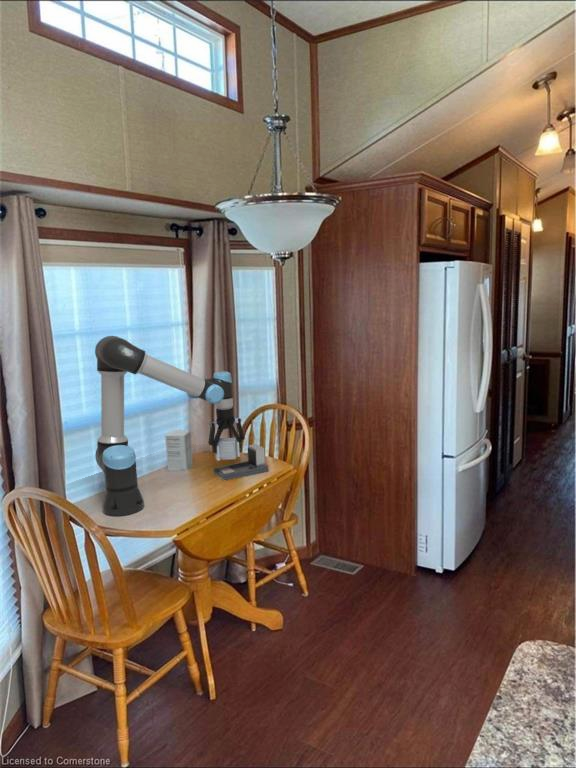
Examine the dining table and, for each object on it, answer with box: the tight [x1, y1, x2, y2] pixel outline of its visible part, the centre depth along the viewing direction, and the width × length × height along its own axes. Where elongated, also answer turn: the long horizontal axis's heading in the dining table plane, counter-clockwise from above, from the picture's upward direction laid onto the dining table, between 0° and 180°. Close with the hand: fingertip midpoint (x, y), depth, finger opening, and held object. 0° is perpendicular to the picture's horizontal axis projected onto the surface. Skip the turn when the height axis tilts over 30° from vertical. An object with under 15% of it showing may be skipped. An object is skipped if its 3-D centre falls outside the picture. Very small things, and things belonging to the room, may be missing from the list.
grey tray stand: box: [213, 443, 269, 481], centre depth 251 cm, size 21×12×10 cm, turn 119°
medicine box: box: [217, 437, 238, 461], centre depth 247 cm, size 8×4×9 cm, turn 84°
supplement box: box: [164, 429, 194, 472], centre depth 261 cm, size 10×9×17 cm
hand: (227, 457), depth 248 cm, fingers closed on medicine box, 9 cm apart
